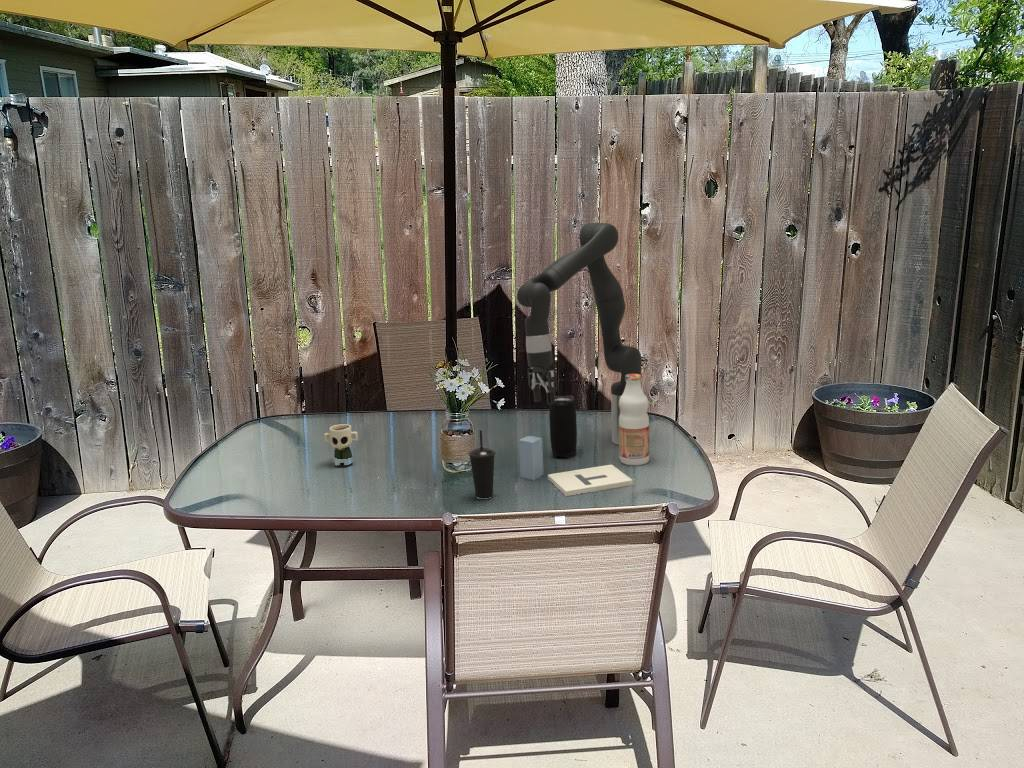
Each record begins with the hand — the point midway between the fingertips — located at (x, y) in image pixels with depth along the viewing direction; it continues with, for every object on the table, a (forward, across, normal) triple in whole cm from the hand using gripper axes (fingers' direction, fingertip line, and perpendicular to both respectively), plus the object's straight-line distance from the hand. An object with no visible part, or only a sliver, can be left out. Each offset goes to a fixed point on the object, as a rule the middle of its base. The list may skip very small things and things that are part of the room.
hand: (544, 403), depth 246 cm
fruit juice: (+24, -3, -28) cm, 37 cm away
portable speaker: (+21, +14, -12) cm, 29 cm away
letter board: (+24, -11, -7) cm, 27 cm away
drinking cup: (+23, -4, +25) cm, 34 cm away
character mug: (+17, +47, +52) cm, 72 cm away
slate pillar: (+22, +3, +5) cm, 23 cm away
